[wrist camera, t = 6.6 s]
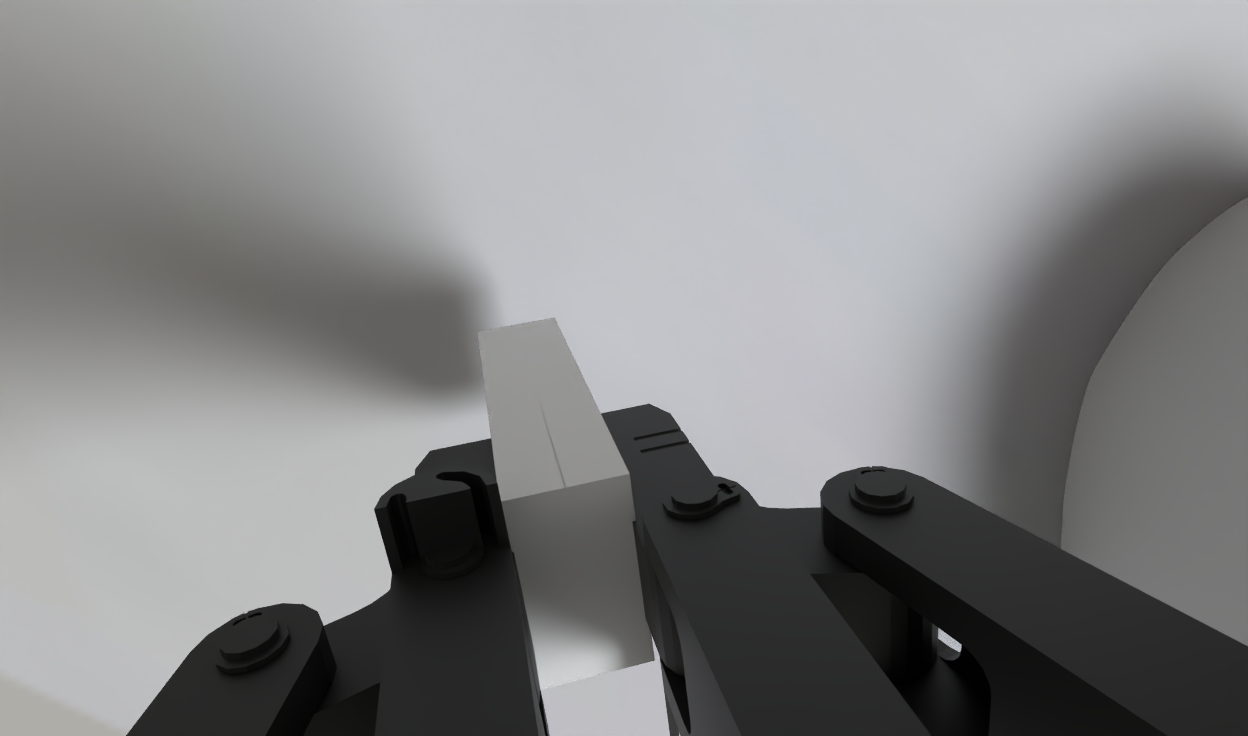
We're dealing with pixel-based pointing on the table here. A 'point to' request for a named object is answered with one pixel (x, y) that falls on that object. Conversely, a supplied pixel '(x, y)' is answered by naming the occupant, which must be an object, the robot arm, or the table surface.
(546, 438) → the robot arm
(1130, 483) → the lumpy-topped squat cylinder
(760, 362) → the table surface
